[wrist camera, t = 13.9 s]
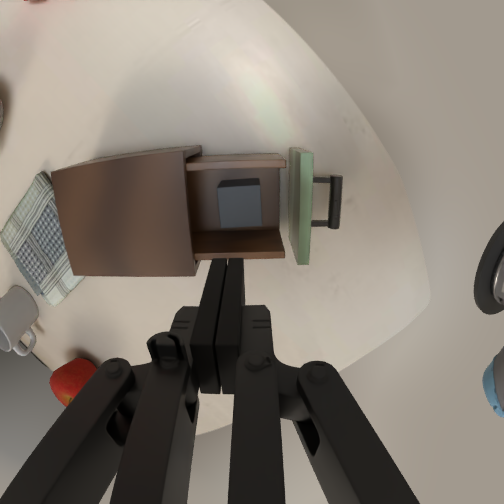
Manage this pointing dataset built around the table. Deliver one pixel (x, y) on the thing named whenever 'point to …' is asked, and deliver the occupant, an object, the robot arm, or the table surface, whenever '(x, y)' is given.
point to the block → (239, 203)
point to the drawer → (268, 235)
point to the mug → (17, 319)
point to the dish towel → (40, 243)
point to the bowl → (1, 113)
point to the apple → (71, 379)
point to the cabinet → (128, 214)
